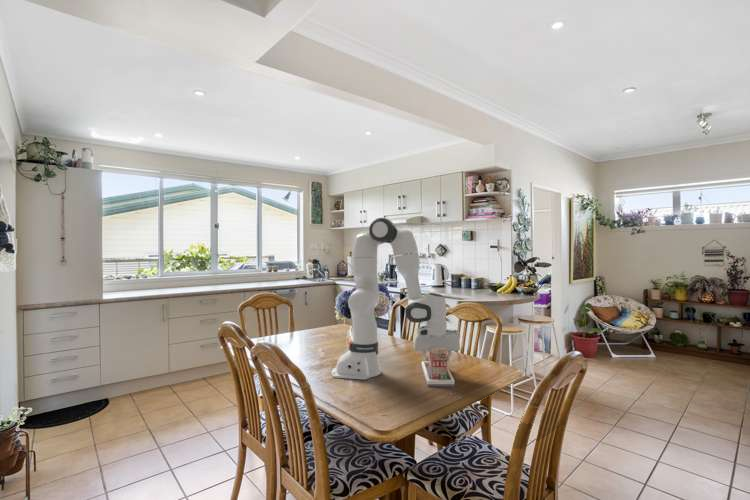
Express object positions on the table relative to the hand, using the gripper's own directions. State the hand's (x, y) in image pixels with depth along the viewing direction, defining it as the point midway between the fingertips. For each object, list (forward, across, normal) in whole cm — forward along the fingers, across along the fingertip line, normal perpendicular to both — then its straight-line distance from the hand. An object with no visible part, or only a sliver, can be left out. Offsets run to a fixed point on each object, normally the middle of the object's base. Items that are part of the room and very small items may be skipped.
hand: (436, 360), depth 164 cm
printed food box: (+6, 0, 0) cm, 6 cm away
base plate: (+7, 0, 0) cm, 7 cm away
